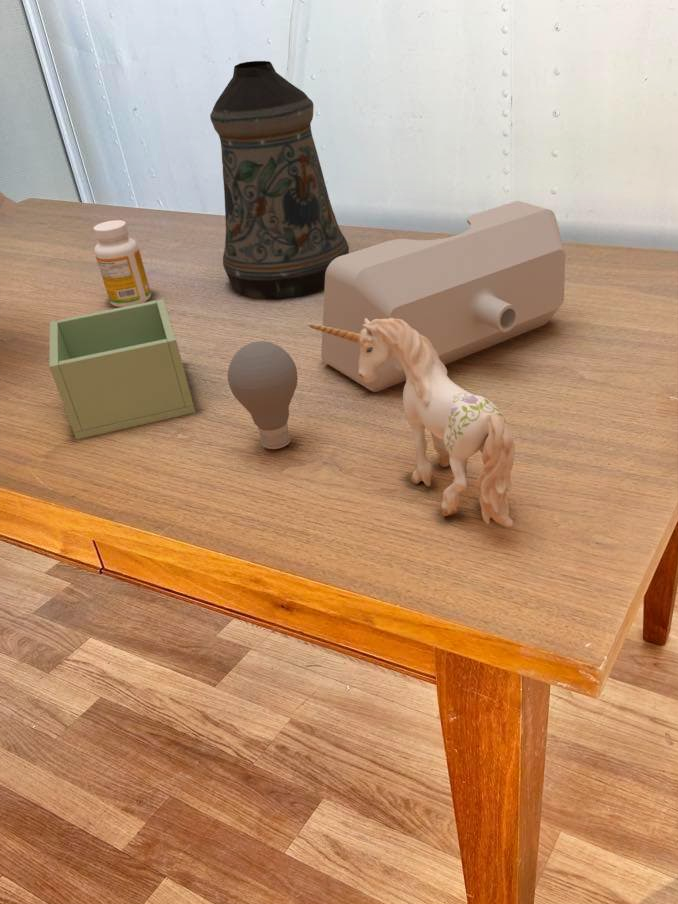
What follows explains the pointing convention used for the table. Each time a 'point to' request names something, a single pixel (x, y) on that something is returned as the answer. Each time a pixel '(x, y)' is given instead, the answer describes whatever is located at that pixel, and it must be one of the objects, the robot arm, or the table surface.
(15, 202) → the robot arm
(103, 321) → the bin
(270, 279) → the brown decorated vase
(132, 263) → the supplement bottle
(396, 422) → the table surface
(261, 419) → the light bulb
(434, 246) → the tank
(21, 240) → the table surface
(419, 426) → the unicorn figurine
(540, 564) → the table surface
